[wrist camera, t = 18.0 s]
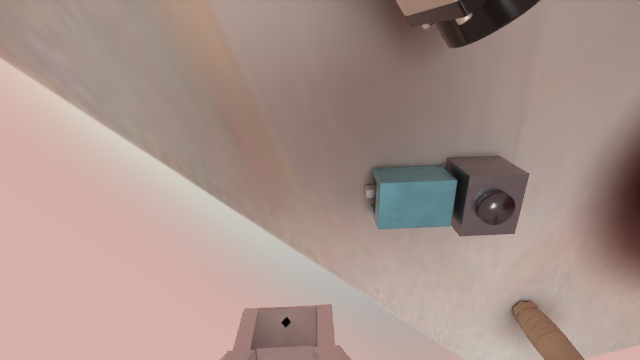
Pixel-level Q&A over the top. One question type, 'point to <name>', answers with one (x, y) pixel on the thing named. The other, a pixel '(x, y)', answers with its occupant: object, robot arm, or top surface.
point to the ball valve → (463, 17)
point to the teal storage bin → (413, 197)
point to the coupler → (483, 195)
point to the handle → (544, 333)
